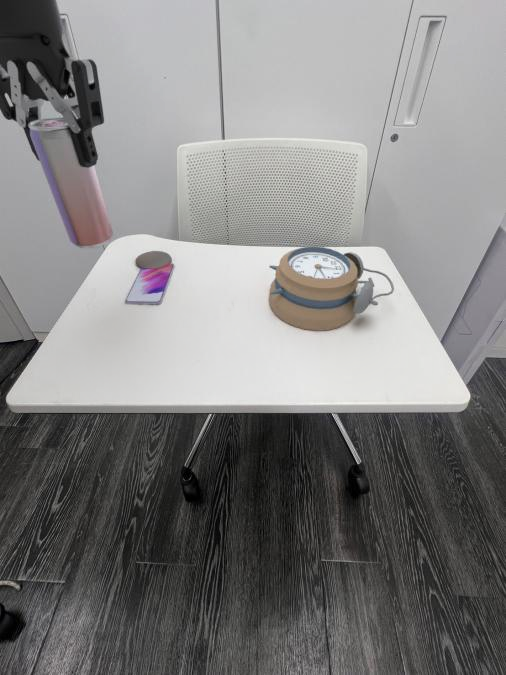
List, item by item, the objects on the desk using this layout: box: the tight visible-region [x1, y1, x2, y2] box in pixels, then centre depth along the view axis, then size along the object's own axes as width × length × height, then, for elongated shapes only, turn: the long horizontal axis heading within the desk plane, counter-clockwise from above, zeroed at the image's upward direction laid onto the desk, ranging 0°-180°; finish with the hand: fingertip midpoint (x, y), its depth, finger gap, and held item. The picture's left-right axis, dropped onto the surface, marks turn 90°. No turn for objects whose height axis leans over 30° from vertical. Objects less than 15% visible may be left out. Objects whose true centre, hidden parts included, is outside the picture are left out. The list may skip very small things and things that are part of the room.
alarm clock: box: [268, 246, 395, 331], centre depth 65 cm, size 17×9×23 cm
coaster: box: [134, 250, 172, 270], centre depth 78 cm, size 8×8×1 cm
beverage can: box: [28, 116, 114, 249], centre depth 45 cm, size 6×6×15 cm
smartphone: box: [124, 262, 175, 306], centre depth 71 cm, size 7×1×15 cm
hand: (67, 162), depth 43 cm, fingers closed on beverage can, 6 cm apart
